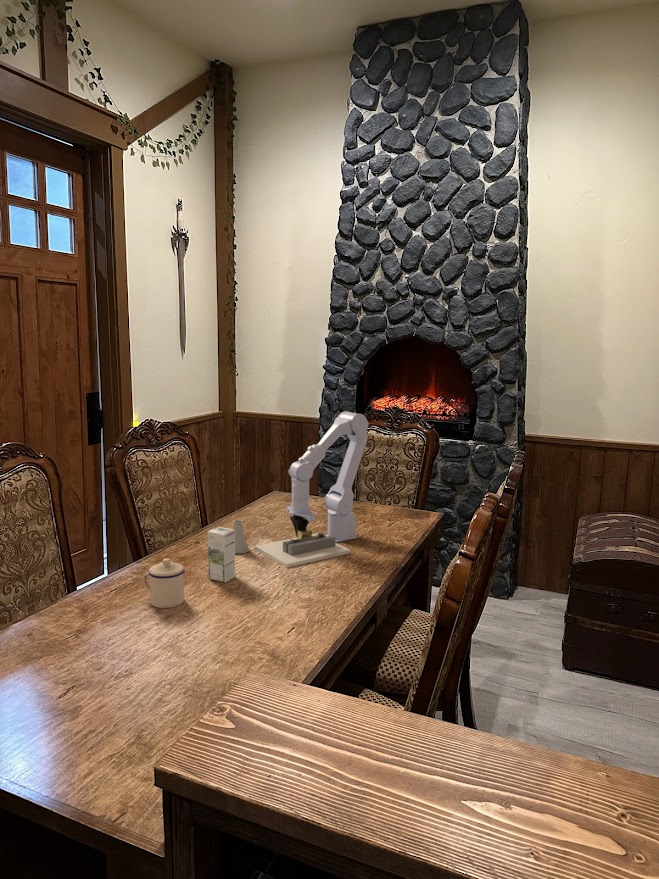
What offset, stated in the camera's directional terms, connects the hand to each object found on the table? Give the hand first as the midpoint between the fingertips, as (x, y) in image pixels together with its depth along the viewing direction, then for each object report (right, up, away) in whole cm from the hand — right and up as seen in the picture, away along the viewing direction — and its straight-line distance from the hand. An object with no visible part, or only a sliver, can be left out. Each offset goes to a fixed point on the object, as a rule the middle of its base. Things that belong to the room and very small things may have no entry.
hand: (300, 537), depth 215 cm
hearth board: (+1, -4, -6) cm, 7 cm away
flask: (-20, -4, -6) cm, 21 cm away
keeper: (+2, -2, -2) cm, 3 cm away
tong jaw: (+2, -2, -6) cm, 7 cm away
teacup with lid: (-34, -10, -46) cm, 58 cm away
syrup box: (-21, -7, -30) cm, 37 cm away
